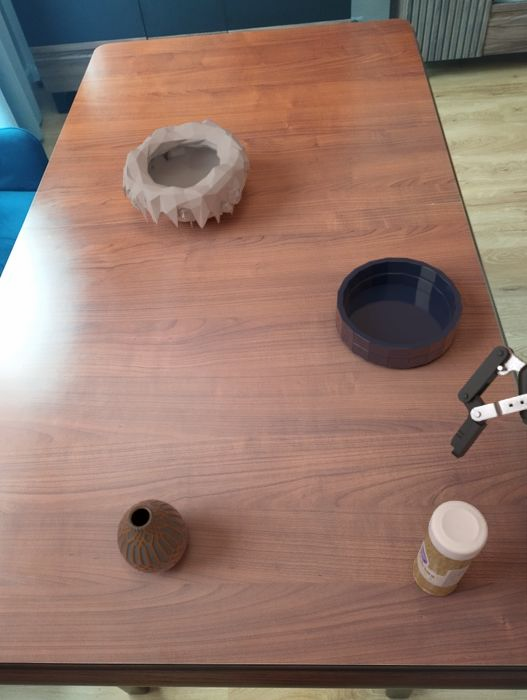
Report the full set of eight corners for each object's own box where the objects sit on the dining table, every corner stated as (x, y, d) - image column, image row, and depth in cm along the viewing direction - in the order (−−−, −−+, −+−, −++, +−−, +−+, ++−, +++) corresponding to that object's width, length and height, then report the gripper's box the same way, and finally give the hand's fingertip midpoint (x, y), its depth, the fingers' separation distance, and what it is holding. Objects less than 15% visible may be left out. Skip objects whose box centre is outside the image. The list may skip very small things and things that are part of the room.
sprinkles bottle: (404, 560, 59) (421, 509, 49) (444, 544, 60) (470, 490, 49) (425, 605, 57) (449, 561, 46) (468, 588, 57) (500, 541, 47)
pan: (475, 355, 74) (482, 333, 70) (356, 381, 73) (357, 360, 69) (429, 271, 83) (434, 247, 80) (323, 293, 82) (323, 270, 79)
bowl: (279, 184, 98) (275, 130, 90) (212, 262, 88) (201, 209, 80) (179, 155, 106) (168, 103, 98) (108, 223, 96) (88, 171, 88)
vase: (139, 593, 60) (114, 566, 53) (120, 532, 64) (96, 500, 57) (201, 563, 61) (186, 533, 54) (180, 506, 65) (163, 471, 58)
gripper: (530, 278, 46) (416, 439, 51) (720, 386, 39) (565, 560, 44) (548, 289, 52) (444, 432, 57) (715, 384, 45) (580, 537, 50)
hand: (497, 487), depth 50 cm, fingers open, 8 cm apart
